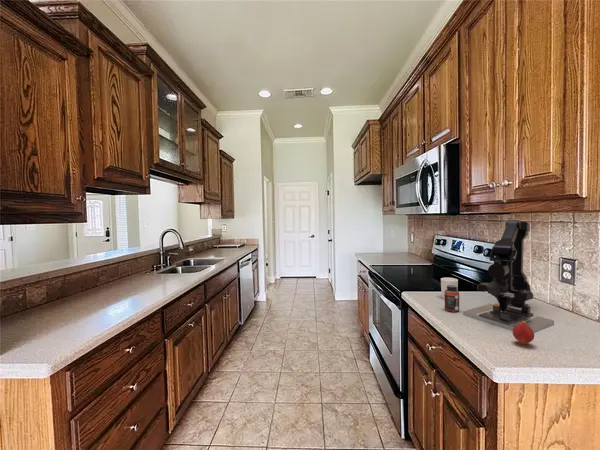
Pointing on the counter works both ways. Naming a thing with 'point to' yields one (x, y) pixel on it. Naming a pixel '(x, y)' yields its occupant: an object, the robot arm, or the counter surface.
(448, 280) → the white cup
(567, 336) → the counter surface
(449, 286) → the supplement bottle
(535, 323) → the breaker panel
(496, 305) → the block
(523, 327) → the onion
